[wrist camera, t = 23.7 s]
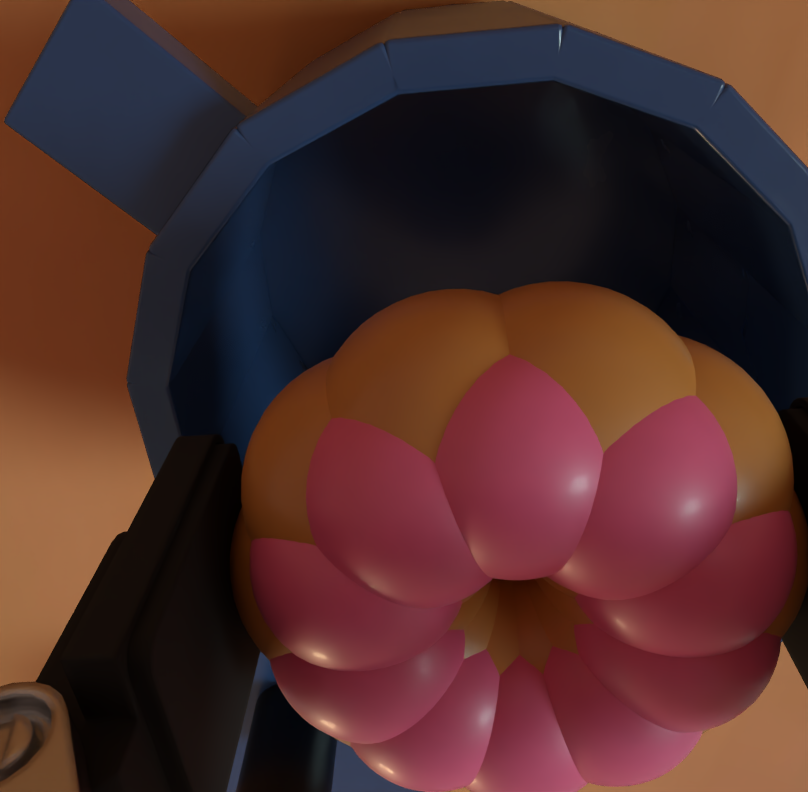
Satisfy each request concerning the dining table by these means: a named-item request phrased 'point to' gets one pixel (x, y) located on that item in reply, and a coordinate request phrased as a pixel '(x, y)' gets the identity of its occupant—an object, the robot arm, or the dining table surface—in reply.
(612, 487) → the donut
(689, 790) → the dining table surface
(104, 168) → the pot
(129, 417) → the dining table surface
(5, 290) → the dining table surface
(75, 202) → the dining table surface
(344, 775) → the pot lid
